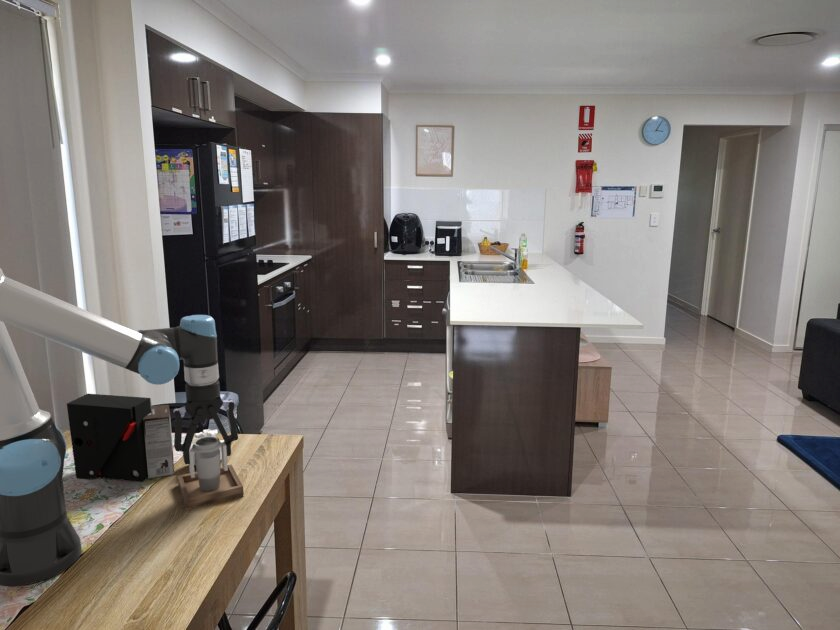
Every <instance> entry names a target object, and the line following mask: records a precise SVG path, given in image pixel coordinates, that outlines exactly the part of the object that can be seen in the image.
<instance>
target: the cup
mask: <svg viewBox="0 0 840 630" xmlns="http://www.w3.org/2000/svg"><path fill="white" fill-rule="evenodd" d="M191 447H192V450H193V451H194V452H195V454H194V456H195V463H196V465H195V468H196V472H197V476H198V479H199V486H200V490H201V491H204V492H209V491H214V490H216V489H218V488H219V487H220V467H221V460H220V450H219V448H220V447H221V442H220V438H219V437H217V436H205V437H201V438H196V439H194V440H193V444H192V446H191Z"/></svg>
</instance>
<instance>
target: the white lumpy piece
mask: <svg viewBox="0 0 840 630" xmlns="http://www.w3.org/2000/svg"><path fill="white" fill-rule="evenodd" d="M218 431H219V429H218V428H216V429H213V430H211V429H210V428H207V429H202V431H200V432H195V434H194V437H195V438H196V439H198V438H201V437H205V436H215V437H217V434H218V433H219V432H218ZM219 441H220V442H223V441H224V439H222V440H220V439H219ZM190 448H191V449H192V446H191V447H190ZM219 450H220V461H222V453H221V447H220V448H219ZM192 451H193V450H192ZM194 454H195V452H194V451H193V460H194V466H196V463H195V456H194ZM182 458H183V459H184V457H183V456H182Z"/></svg>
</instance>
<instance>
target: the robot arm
mask: <svg viewBox="0 0 840 630" xmlns="http://www.w3.org/2000/svg"><path fill="white" fill-rule="evenodd" d="M179 322H180V323H179V326H176V327H166V328H165V327H163V328H156V329H155V328H154V329H138V330H133V329H131V328H130V327H127V326H124V325H122V324H120V323H117V322H115V321H112V320H110V319H107V318H105V317H103V316H101V315H98V314H95V313H94V312H91V311H89V310H86V309H83V308H81V307H79V306H76V305H74V304H71V303H69V302H67V301H65V300H62V299H59V298H57V297H55V296H53V295H50V294H48V293H45V292H43V291H41V290H39V289H36V288H33V287H31V286H30V285H27V284H24V283H21V282H20V281H16V280H14V279H12V278H10V277H7V276H6V275H5V274H4V272H3V270H2V268H1V267H0V585H2V586H9V587H10V586H12V587H15V586H16V587H17V586H25V585H30V584H35V583H39V582H41V581H45V580H47V579H51V578H52V577H54V576H57V575H59V574H60V573H62V572H64V571H66V570H67V569H68V568H70V567H71V566H73V565H74V563H76V562H77V561H78V559H79V558H80V556H81V555H82V552H83V551H82V548H83V547H82V542H81V538H80V535H79V534H78V532H77V531H76V528H75V527H74V525H73V523H72V522H71V520H70V519H69V517H68V514H67V506H66V497H65V491H64V482H63V481H64V480H63V478H64V477H63V476H64V468H65V467H64V466H65V459H66V454H67V442H66V438H65V436H64V435H63V433H62V431H61V430H60V429H59V427H57V426H56V423H55V421H54V420H53V417H52V415H51V413H50V412H49V411H46V410H43V409H41V408H40V407H39V404H38V402H37V400H36V398H35V395H34V393H33V390H32V387H31V386H30V383H29V380H28V377H27V375H26V373H25V371H24V368H23V365H22V363H21V360H20V358H19V356H18V353H17V351H16V348H15V346H14V343H13V341H12V338H11V337H10V334H9V331H8V330H7V327H6V324H7V325H11V326H13V327H16V328H18V329H20V330H23V331H25V332H29V333H31V334H33V335H37V336H38V337H42V338H44V339H47V340H50V341H52V342H55V343H57V344H60V345H63V346H65V347H68V348H71V349H73V350H76V351H78V352H81V353H84V354H87V355H89V356H92V357H94V358H97V359H99V360H103V361H105V362H108V363H110V364H113V365H116V366H118V367H120V368H123V369H125V370H128V371H130V372H134V373H136V374H138V375H140V377H141V378H142V379H143V380H145V381H146V382H147V383H149V384H152V385H165V384H167V383H169V382H171V381H172V380H173V379H175V377H176V376H177V375H178V374H179V371H180V361H181V360H183V372H184V381H185V382H186V383H185V385H184V387H185V397H186V398H185V399H186V402H185V404H184V406H182V407H174V408H173V409H172V411H173V415H174V417H175V420H174V438H173V439H174V440H173V441H174V442H173V443H174V444H173V448H174V450H175V451H176V453H177V452H182V458H183V457H184V458H183V463H184V464H185V465H186V466H187V465H188V468H189V473H190V475H191V478H194V477H195V473H194V472H195V465H194V460H193V451H192V449H191V448H190V447H192V446H191V445H192V443H193V441H194V437H195V434H196V430H197V427H198V425H199V422H202V421H205V420H213V421H214V424H215V425H216V427H217V430H218V431H219V433H220V435H221V437H222V438H223V439H222V440H224V441H223V442H221V453H222V459H221V465H222V466H221V467H223V469H224V471H227V470H228V465H229V464H228V457H231V455H232V443H233V442H235V441H237V440H238V439H239V435H238V430H237V424H236V418H235V414H234V410H235V402H234V401H233V400H232V398H231V399H230V398H229V399H228V400H223V399H222V397H221V388H220V387H221V386H220V380H219V378H220V372H219V360H218V358H219V357H218V338H217V337H218V335H217V330H216V322H215V319H214V318H213V317H212V316H211V315H208V314H192V315H186V316H183V317H182V318H180V321H179ZM222 406H223V408H224V410H226V415H227V422H228V426H229V427H228V428H229V431H230V434H229V435H228V433H227V431H226V430H225V427H224V425H223V423H222V421H221V420H220V418H219V415H218V413H219V411H220V409H221V408H222ZM186 412H187V414H188V415H190V421H189V424H188V427H187V431H186V433H185V437H184V439H182V434H183V418H184V417H185V414H186ZM182 440H183V443H182Z"/></svg>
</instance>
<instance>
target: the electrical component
mask: <svg viewBox="0 0 840 630" xmlns="http://www.w3.org/2000/svg"><path fill="white" fill-rule="evenodd" d="M151 406H152V398H151V397H141V396H130V395H129V396H127V395H111V394H100V393H98V394H96V393H86V394H84V395H82V396H79V397H78V398H75V399H73V400H72V401H69V402H67V403H66V409H67V417H68V418H67V419H68V422H69V423H68V425H69V432H70V439H71V447H72V455H73V462H74V464H73V465H74V470H75V478H76V479H80V480H95V479H104V480H105V479H106V480H108V479H109V480H116V481H127V482H137V483H144V481H146V480H147V479H149V478H148V470H147V459H146V448H145V436H144V425H143V418H144V417H145V416H147V415H148V414H150V413H151V411H152V408H151Z"/></svg>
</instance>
